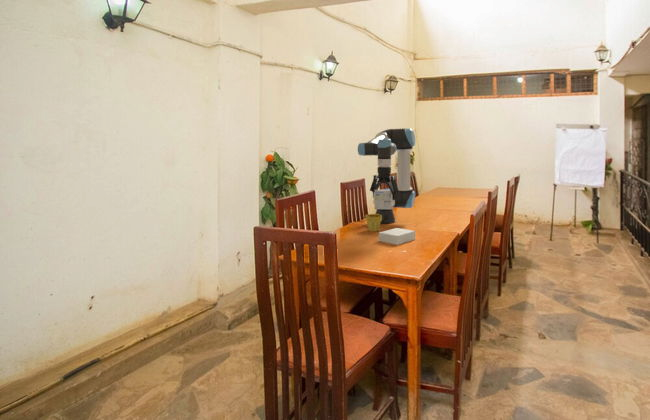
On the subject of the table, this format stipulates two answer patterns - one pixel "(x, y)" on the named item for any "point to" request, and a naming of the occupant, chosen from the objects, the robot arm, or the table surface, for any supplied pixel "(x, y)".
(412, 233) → the grey plinth
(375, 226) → the plant pot
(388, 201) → the light bulb box
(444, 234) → the table surface
